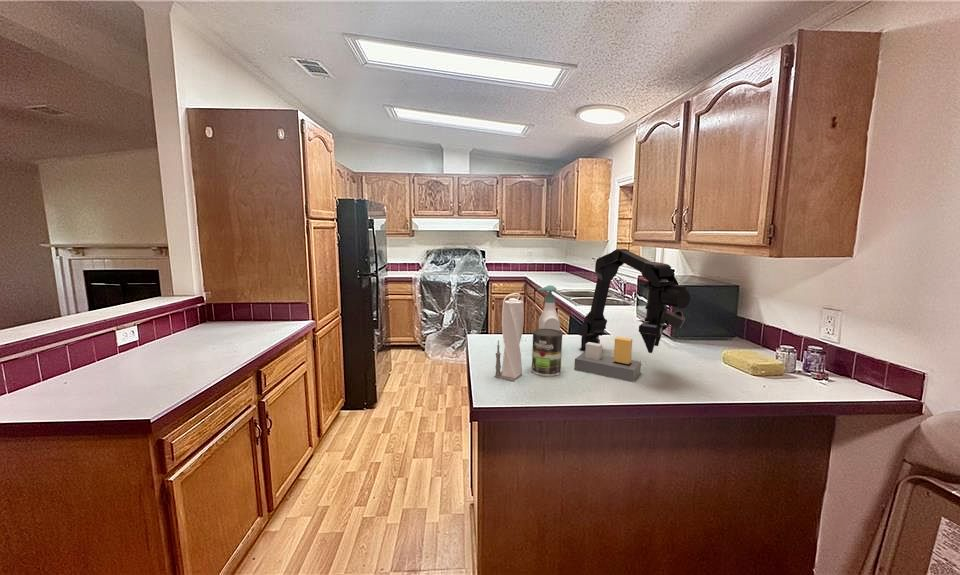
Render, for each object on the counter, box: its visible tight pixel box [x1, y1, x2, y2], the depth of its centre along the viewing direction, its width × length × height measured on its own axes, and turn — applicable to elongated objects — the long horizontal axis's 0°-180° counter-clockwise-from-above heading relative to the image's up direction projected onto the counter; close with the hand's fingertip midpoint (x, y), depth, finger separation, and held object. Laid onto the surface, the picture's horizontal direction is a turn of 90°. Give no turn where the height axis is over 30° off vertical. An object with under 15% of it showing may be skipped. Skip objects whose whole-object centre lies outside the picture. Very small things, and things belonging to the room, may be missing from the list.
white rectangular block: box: [584, 342, 603, 361], centre depth 140 cm, size 5×3×8 cm, turn 55°
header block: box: [574, 351, 642, 383], centre depth 137 cm, size 20×10×4 cm, turn 55°
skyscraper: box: [493, 292, 525, 382], centre depth 131 cm, size 8×8×28 cm
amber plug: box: [613, 336, 633, 364], centre depth 134 cm, size 5×3×8 cm, turn 56°
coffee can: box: [531, 328, 564, 377], centre depth 137 cm, size 10×10×14 cm
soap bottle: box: [537, 284, 561, 331], centre depth 156 cm, size 11×8×27 cm
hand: (653, 349), depth 130 cm, fingers open, 9 cm apart
